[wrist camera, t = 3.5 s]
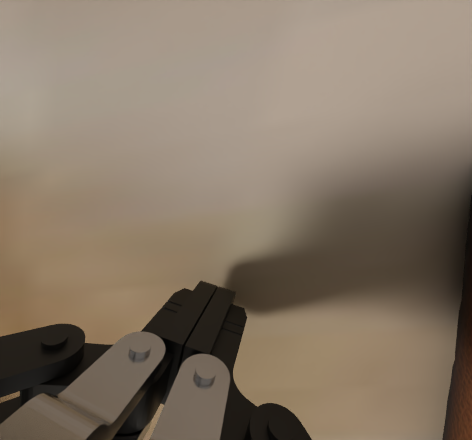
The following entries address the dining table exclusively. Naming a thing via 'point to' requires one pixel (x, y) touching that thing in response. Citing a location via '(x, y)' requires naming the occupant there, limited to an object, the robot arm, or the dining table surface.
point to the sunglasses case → (462, 359)
